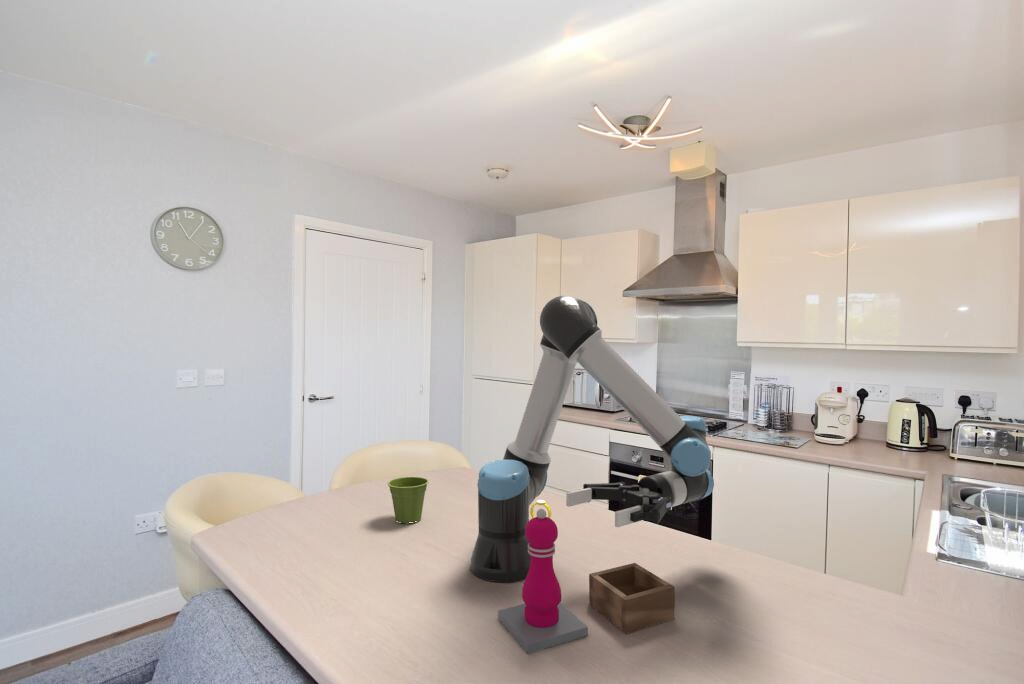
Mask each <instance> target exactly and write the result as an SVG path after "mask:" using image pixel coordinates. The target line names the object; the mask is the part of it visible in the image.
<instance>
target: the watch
mask: <svg viewBox="0 0 1024 684" xmlns="http://www.w3.org/2000/svg"><path fill="white" fill-rule="evenodd" d="M536 505H538V506H544V507H545V508H546V510H547V512H548V516H547V517H548V518H550V519H551V517H552V509H551V506H550V505H549V504H547V501H546V500H543V499H538V500H536V501H535V502H534V503H533V504H532V505H531V507H530V510H529V514H530V516H531V519H532V518H534V517H536V515H535V513H534V507H535V506H536Z"/></svg>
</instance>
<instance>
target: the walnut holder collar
mask: <svg viewBox="0 0 1024 684" xmlns="http://www.w3.org/2000/svg"><path fill="white" fill-rule="evenodd" d="M588 578H589V579H588V583H589V584H588V585H589V586H588V588H589V589H588V590H589V591H588V592H589V593H588V604H589V606H590V607H592V608H594V609H595V610H596V611H597V612H598V613H599V614H601V615H602V616H603V617H604V618H605V619H606V620H608V621H610V622H611V623H612V624H613V625H614V626H615V627H617V628H618V629H619V630H620V631H622V632H623V633H624V634H626V635H627V634H631V633H634V632H637V631H639V630H643V629H646V628H651V627H654V626H656V625H659V624H662V623H665V622H668V621H671V620H674V619H675V612H676V611H675V608H676V607H675V604H676V603H675V602H676V601H675V600H676V599H675V598H676V597H675V591H676V589H675V586H674V585H673V584H671V583H669V582H668V581H666V580H665V579H662V578H661V577H659V576H658V575H656V574H654V573H652V572H651V571H649V569H646V568H644V567H643V566H641V565H639V564H638V563H636V562H633V563H628V564H623V565H621V566H620V565H619V566H616V567H613V568H608V569H604V570H600V571H596V572H591V573H589V576H588Z"/></svg>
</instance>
